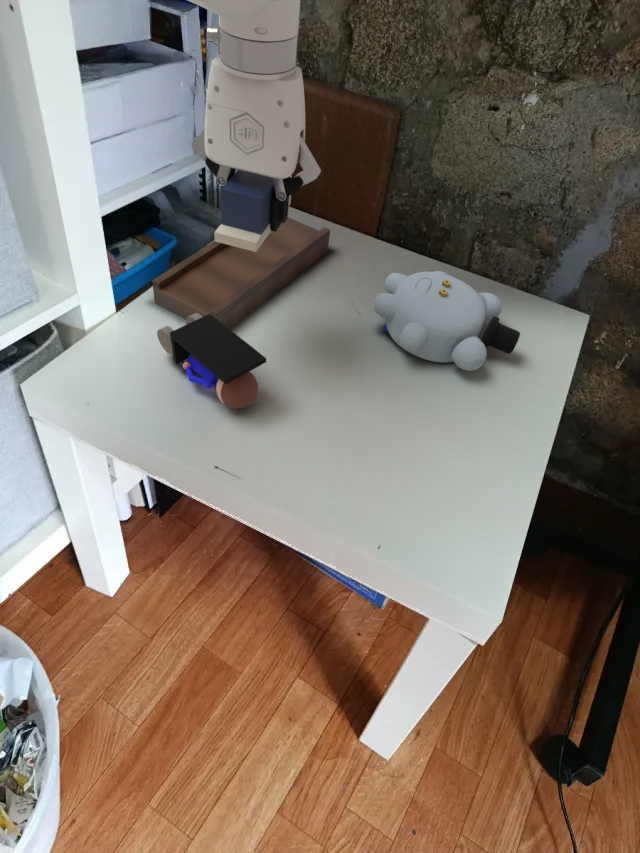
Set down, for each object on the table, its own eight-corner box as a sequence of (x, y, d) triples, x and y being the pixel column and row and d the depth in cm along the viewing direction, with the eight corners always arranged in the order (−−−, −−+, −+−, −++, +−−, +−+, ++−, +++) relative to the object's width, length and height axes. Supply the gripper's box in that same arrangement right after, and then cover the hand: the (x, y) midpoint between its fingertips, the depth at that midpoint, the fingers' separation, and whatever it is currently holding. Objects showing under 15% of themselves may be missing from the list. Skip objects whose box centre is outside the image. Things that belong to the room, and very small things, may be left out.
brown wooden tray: (217, 337, 87) (217, 313, 84) (154, 303, 90) (151, 280, 87) (327, 251, 104) (330, 229, 101) (271, 226, 107) (272, 204, 104)
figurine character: (158, 368, 84) (228, 425, 76) (148, 319, 78) (223, 375, 71) (200, 348, 87) (271, 401, 79) (193, 300, 82) (269, 351, 74)
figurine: (352, 349, 87) (490, 407, 85) (368, 300, 81) (517, 361, 79) (389, 283, 99) (511, 333, 97) (405, 236, 92) (536, 288, 90)
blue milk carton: (256, 252, 71) (257, 206, 67) (214, 241, 72) (213, 195, 68) (290, 203, 80) (293, 160, 75) (252, 194, 80) (253, 151, 76)
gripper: (160, 43, 61) (173, 217, 74) (331, 81, 59) (313, 253, 72) (193, 23, 66) (200, 189, 79) (352, 56, 64) (331, 222, 77)
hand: (254, 218), depth 75 cm, fingers closed on blue milk carton, 5 cm apart
